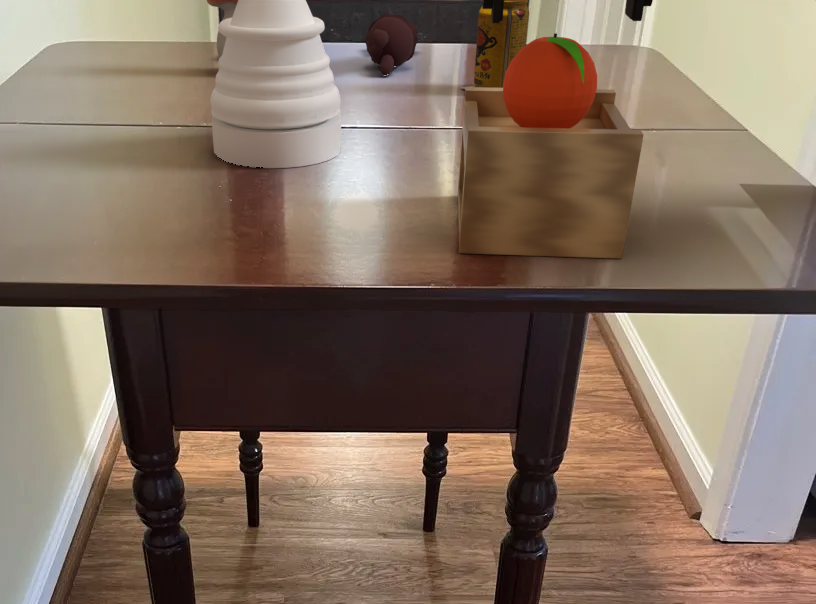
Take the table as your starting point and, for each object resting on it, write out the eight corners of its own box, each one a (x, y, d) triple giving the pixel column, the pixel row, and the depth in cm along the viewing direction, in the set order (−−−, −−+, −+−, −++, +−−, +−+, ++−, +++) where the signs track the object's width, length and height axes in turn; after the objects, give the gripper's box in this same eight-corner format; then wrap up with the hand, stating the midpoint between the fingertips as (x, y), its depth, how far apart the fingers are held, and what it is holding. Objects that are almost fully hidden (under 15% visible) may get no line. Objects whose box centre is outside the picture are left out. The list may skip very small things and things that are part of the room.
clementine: (616, 144, 68) (632, 40, 64) (533, 153, 66) (545, 47, 62) (559, 119, 75) (571, 23, 71) (483, 127, 73) (490, 29, 69)
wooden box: (597, 199, 80) (613, 89, 75) (622, 259, 68) (644, 134, 63) (457, 195, 81) (465, 87, 76) (459, 253, 69) (467, 130, 64)
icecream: (370, 8, 131) (346, 35, 120) (420, -5, 129) (401, 21, 117) (381, 58, 135) (360, 89, 124) (430, 46, 132) (413, 77, 121)
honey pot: (240, 175, 86) (226, -44, 76) (197, 142, 96) (179, -56, 86) (363, 157, 91) (365, -51, 81) (310, 128, 100) (306, -61, 90)
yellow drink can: (458, 89, 116) (465, -18, 110) (506, 80, 120) (515, -23, 114) (500, 99, 111) (510, -12, 105) (548, 89, 116) (560, -18, 109)
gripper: (453, -286, 54) (442, 30, 64) (757, -301, 53) (700, 26, 62) (452, -273, 61) (443, 13, 70) (725, -286, 59) (677, 9, 68)
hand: (564, 19), depth 66 cm, fingers open, 9 cm apart
